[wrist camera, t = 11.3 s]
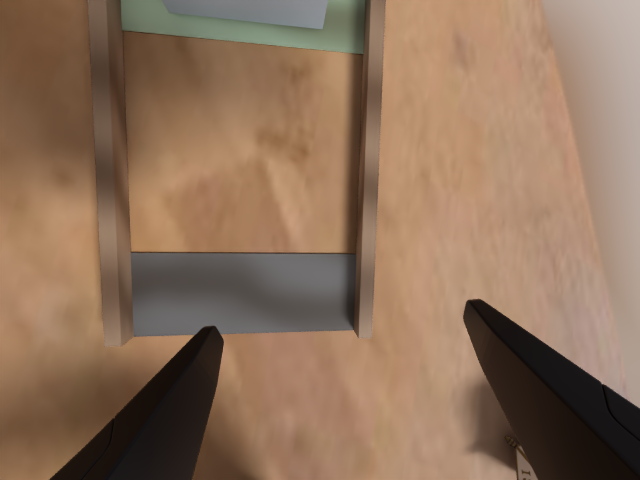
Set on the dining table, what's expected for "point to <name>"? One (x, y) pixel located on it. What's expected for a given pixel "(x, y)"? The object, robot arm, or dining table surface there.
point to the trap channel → (229, 268)
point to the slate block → (256, 10)
